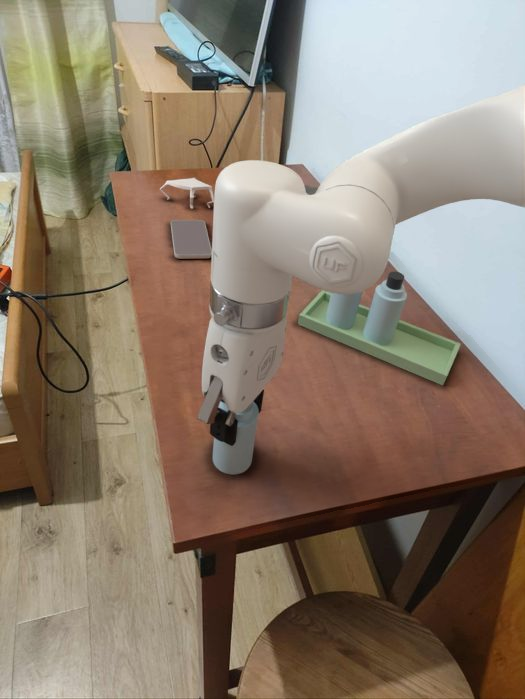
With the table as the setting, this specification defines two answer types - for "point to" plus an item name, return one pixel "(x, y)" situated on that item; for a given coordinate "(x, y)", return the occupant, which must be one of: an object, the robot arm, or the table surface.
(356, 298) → the row bottle back
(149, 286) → the table surface
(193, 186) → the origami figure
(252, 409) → the loose bottle
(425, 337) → the tray
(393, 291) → the row bottle middle
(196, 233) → the smartphone
